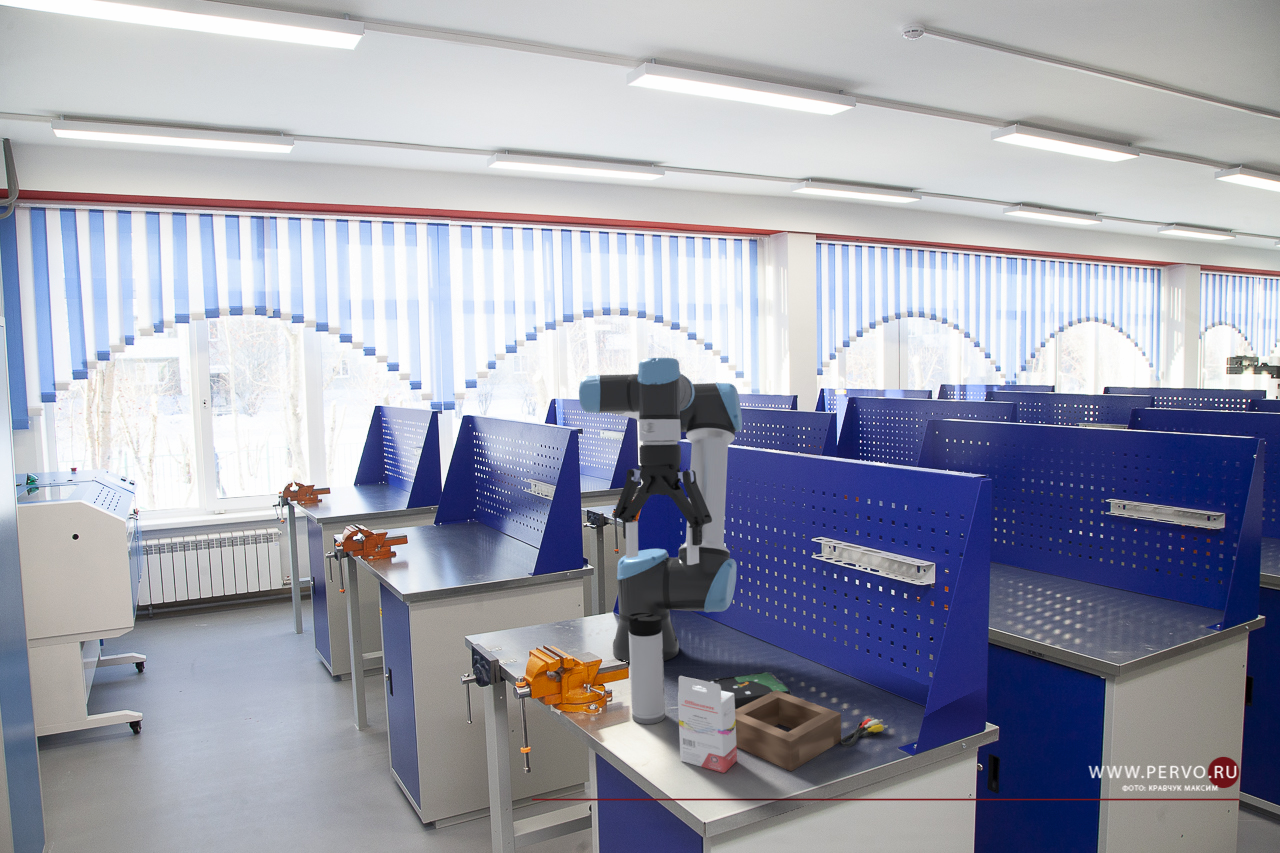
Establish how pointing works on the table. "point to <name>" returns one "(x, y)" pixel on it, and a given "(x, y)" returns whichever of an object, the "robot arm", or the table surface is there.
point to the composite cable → (863, 731)
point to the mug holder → (779, 747)
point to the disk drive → (750, 686)
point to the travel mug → (646, 668)
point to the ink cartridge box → (706, 724)
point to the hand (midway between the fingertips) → (661, 560)
